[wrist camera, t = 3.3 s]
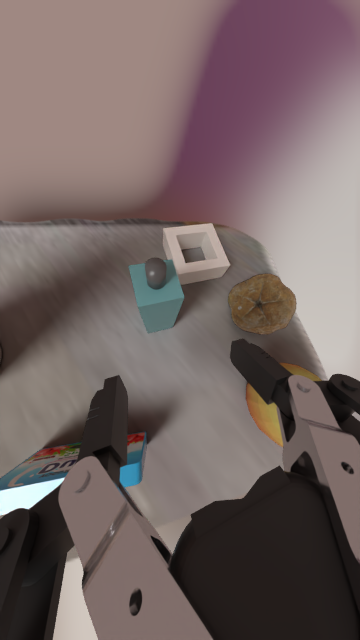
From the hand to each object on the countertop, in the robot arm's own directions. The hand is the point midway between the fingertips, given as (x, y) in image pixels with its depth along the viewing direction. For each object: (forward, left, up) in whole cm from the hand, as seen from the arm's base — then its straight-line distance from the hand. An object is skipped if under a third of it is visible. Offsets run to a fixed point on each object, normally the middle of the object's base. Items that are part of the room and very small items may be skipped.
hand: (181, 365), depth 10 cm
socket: (+9, +17, -12) cm, 22 cm away
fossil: (+16, +5, -12) cm, 20 cm away
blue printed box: (-11, -7, -12) cm, 18 cm away
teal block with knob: (0, +7, -12) cm, 14 cm away
